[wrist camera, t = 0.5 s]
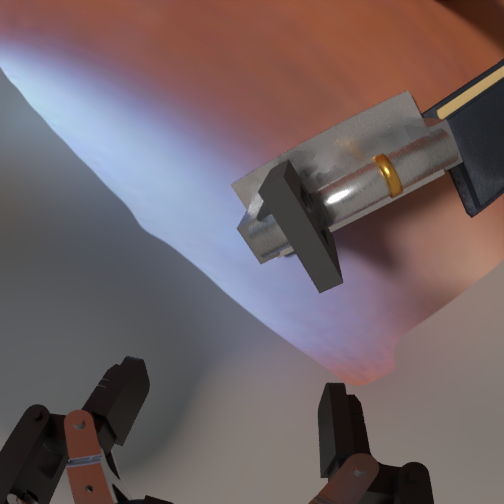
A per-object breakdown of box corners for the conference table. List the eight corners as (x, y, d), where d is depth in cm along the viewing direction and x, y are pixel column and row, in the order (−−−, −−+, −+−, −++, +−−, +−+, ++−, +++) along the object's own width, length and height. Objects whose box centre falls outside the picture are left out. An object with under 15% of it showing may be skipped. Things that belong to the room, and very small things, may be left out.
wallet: (472, 224, 27) (420, 109, 23) (465, 218, 29) (414, 109, 25) (555, 155, 20) (517, 53, 16) (548, 153, 21) (509, 54, 17)
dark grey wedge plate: (288, 159, 26) (283, 177, 18) (332, 236, 29) (343, 282, 21) (270, 169, 27) (257, 191, 19) (315, 244, 30) (319, 293, 22)
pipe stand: (404, 91, 24) (445, 83, 15) (440, 171, 27) (485, 195, 18) (233, 182, 32) (206, 209, 23) (279, 253, 35) (270, 302, 26)
